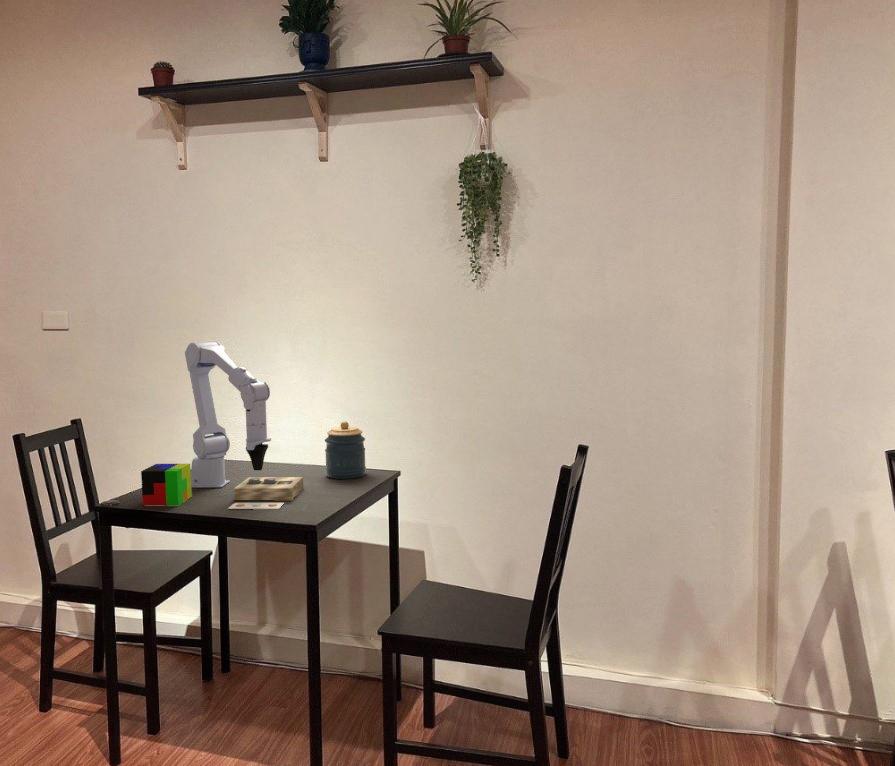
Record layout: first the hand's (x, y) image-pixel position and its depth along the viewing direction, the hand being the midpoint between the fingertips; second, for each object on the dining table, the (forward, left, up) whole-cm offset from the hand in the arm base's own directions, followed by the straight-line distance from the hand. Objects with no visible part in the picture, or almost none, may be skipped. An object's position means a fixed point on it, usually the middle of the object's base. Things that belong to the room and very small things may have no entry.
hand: (257, 469), depth 221 cm
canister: (+21, +25, -8) cm, 34 cm away
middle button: (+3, 0, -5) cm, 6 cm away
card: (+3, -14, -7) cm, 16 cm away
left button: (-1, 0, -5) cm, 5 cm away
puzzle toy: (-24, -8, -8) cm, 26 cm away
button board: (+3, 0, -7) cm, 8 cm away
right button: (+8, 0, -6) cm, 10 cm away
